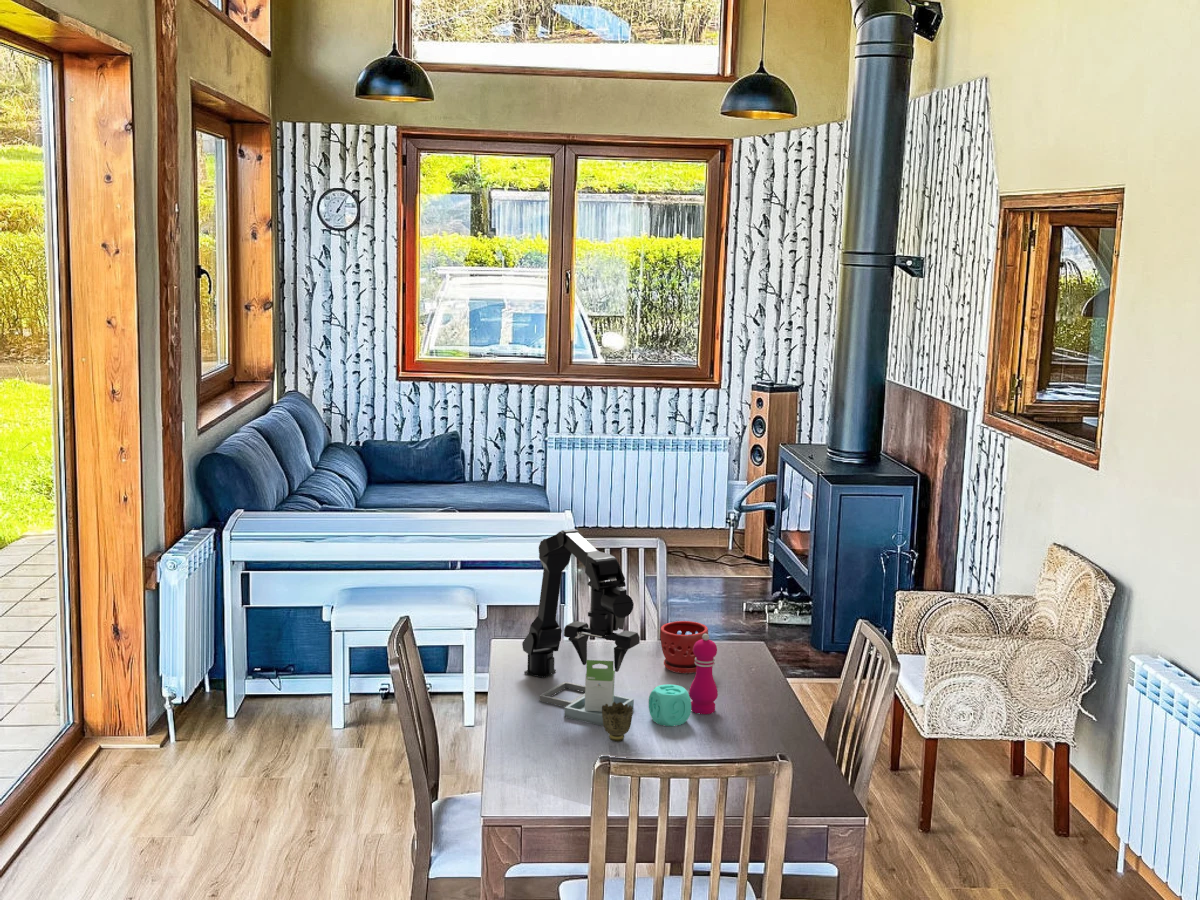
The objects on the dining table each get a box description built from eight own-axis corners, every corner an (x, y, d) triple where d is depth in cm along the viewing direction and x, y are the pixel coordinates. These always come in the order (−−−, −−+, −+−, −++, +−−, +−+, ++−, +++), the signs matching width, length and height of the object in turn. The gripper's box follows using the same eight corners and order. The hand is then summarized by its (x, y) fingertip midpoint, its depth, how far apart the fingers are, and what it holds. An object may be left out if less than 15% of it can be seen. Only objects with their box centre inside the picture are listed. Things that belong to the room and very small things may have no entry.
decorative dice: (676, 713, 320) (677, 682, 318) (691, 724, 313) (692, 693, 311) (647, 716, 317) (648, 686, 315) (661, 728, 309) (662, 696, 308)
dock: (539, 701, 325) (539, 695, 325) (564, 686, 336) (564, 681, 336) (571, 708, 321) (571, 702, 320) (596, 693, 332) (596, 688, 331)
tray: (564, 717, 315) (564, 707, 314) (593, 699, 327) (593, 690, 327) (605, 726, 309) (605, 716, 309) (633, 708, 322) (633, 699, 322)
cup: (609, 747, 297) (610, 715, 295) (595, 736, 303) (596, 704, 302) (637, 742, 300) (638, 710, 299) (622, 731, 306) (623, 700, 305)
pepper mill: (721, 708, 324) (724, 632, 321) (711, 717, 317) (714, 639, 314) (694, 703, 327) (697, 627, 324) (684, 712, 320) (687, 635, 317)
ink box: (613, 707, 320) (615, 656, 318) (612, 713, 316) (613, 661, 314) (586, 705, 321) (587, 654, 318) (584, 711, 317) (585, 659, 315)
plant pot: (675, 657, 362) (677, 617, 360) (715, 667, 355) (717, 626, 353) (650, 669, 352) (651, 627, 350) (690, 680, 344) (692, 637, 342)
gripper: (650, 605, 316) (649, 665, 319) (585, 594, 325) (584, 652, 328) (629, 616, 307) (628, 678, 309) (563, 604, 316) (562, 664, 318)
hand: (600, 668), depth 316 cm, fingers open, 9 cm apart
